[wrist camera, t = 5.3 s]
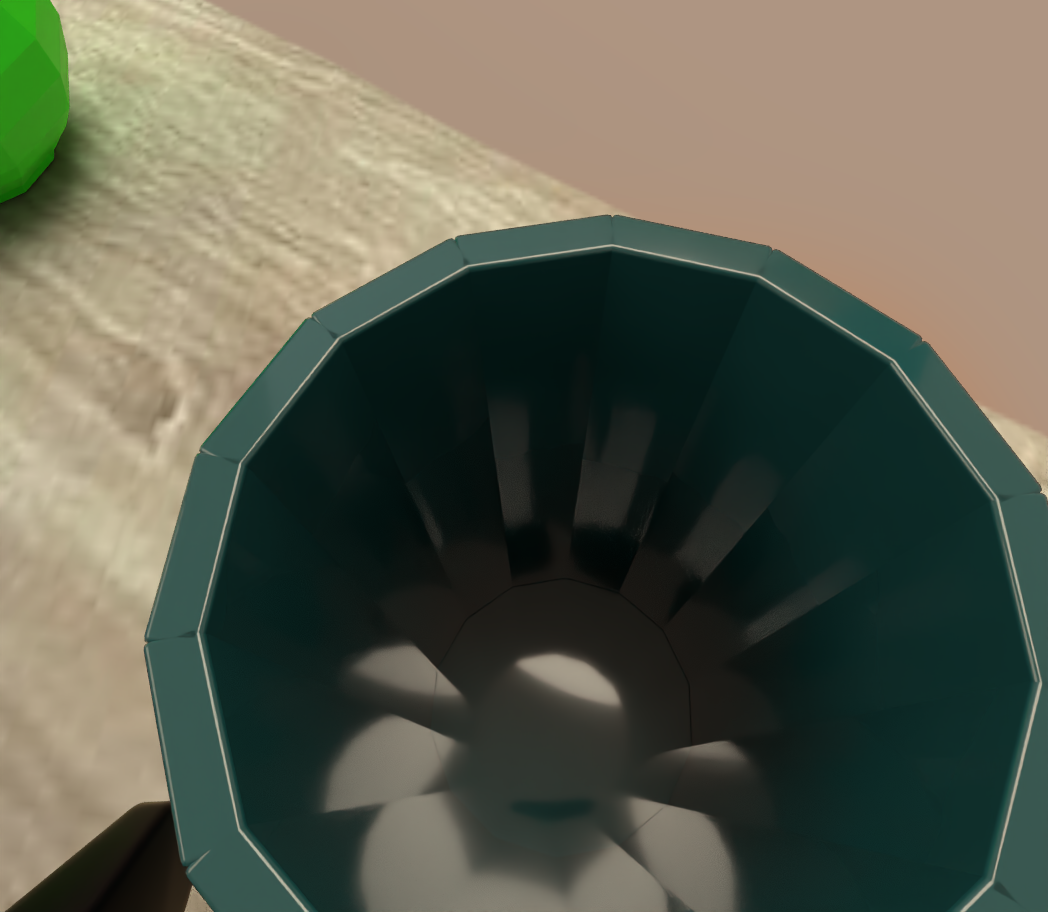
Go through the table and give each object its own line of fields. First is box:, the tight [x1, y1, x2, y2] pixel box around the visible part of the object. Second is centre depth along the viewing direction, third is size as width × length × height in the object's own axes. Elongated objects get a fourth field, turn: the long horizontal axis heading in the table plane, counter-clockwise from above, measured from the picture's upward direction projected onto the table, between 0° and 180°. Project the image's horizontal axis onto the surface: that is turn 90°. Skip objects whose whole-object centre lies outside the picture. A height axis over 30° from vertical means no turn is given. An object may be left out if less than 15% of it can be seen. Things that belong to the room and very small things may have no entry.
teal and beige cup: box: [144, 215, 1048, 912], centre depth 11 cm, size 7×7×12 cm
